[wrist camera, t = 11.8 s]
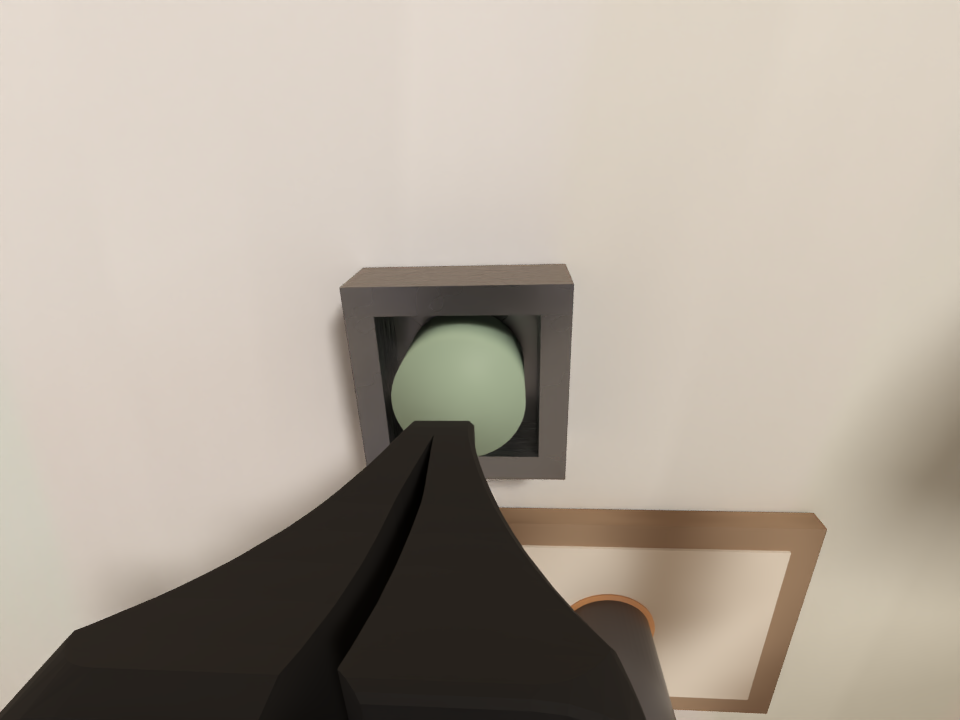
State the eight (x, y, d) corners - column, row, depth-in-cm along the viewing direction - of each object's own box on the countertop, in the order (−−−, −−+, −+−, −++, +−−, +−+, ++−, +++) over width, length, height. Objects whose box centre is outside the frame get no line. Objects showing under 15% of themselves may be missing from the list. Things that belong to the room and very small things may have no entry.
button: (414, 414, 16) (398, 457, 14) (403, 310, 15) (384, 339, 12) (523, 414, 16) (525, 458, 14) (524, 309, 14) (526, 338, 12)
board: (482, 682, 22) (481, 705, 21) (474, 507, 18) (472, 526, 17) (758, 693, 21) (768, 718, 20) (813, 512, 17) (830, 533, 16)
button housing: (385, 437, 17) (368, 477, 15) (363, 267, 15) (339, 287, 13) (558, 438, 17) (565, 479, 15) (565, 263, 14) (573, 284, 12)
